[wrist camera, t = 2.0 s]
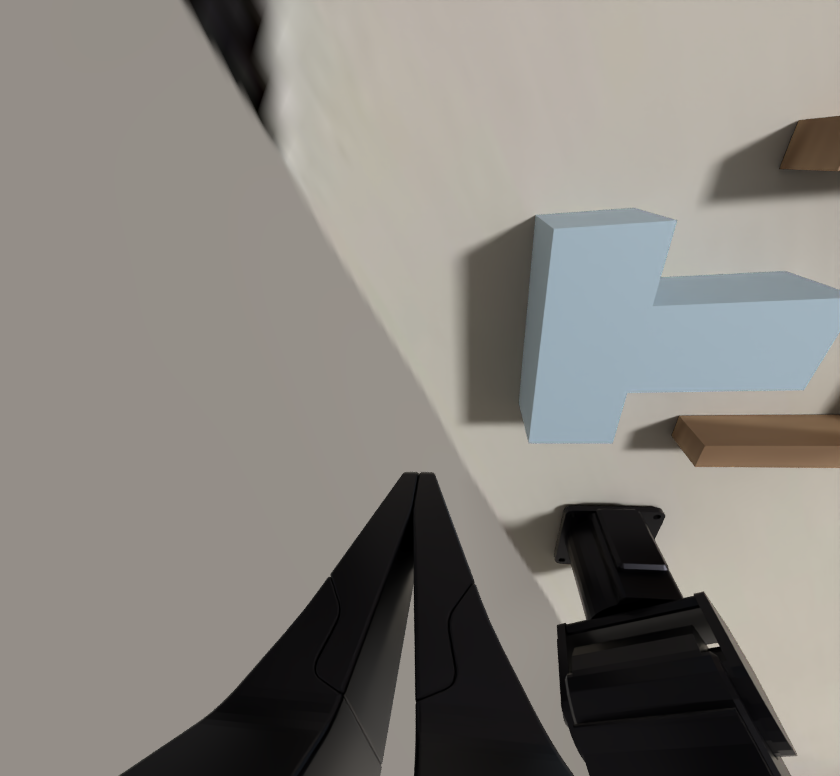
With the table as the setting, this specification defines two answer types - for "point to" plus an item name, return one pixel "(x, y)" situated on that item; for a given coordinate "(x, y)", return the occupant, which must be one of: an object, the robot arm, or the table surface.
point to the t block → (652, 325)
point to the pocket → (773, 434)
